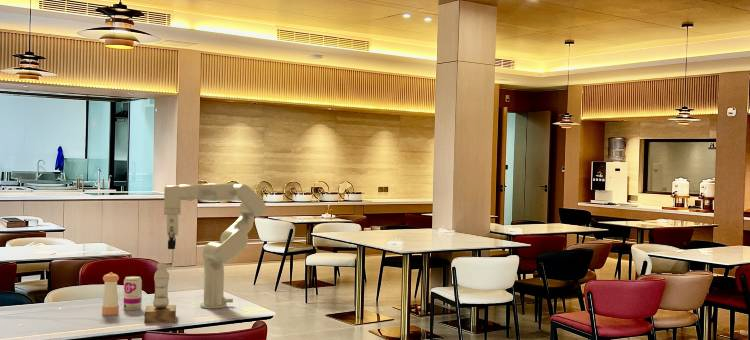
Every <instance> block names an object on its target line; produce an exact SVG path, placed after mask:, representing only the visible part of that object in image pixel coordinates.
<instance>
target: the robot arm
mask: <svg viewBox="0 0 750 340" xmlns="http://www.w3.org/2000/svg"><path fill="white" fill-rule="evenodd" d="M163 192H164V194H163V195H164V196H163V197H164V198H163V199H164V200H163V215H164V216H166V234H167V236H168V240H167V249H168V250H175V249H176V246H177V245H176V237H178V235H179V216H180V215H181V212H182V211H181V209H182V208H181V206H182V204H181V203H182V202H181V201H187V202H188V201H190V202H191V201H194V200H200V201H201V200H203V201H210V202H213V201H214V202H220V201H221V202H224V201H225V202H226V201H234V202H235V201H237V202H240V205H239V215H238V218H237V219H236V220H235V221H234V222H233V223H232V224H231V225H229V227H227V228H226V229H225V230H224V231H223V232H222V233H221V235H220V242H218V241H217V242H216V241H210V242H208V243H207V244H205V245H204V247H203V249H202V260H203V266H204V267H203V269H204V271H203V272H204V273H203V302H202V303H200V307H201V308H202V309H208V310H209V309H211V310H213V309H223V308H226V307H227V305H228V304H229V303H231V304H232V303H233V302H234V299H233V298H230V297H229V298H226V297H225V296H224V293H225V291H224V288H225V287H224V286H225V281H224V280H225V267H224V265H225V264H228V263H229V262H230V261H232V260H233V259H234V258H235V257H236V256H237V255H239V253H240V252H242V251H243V250H244V249H245V248H246V246H247V245H248V242H249V236H248V234H249V232H250V231H251V230H252V229H253V226H254V221H255V217H256V218H257V217H261V216H264V214H265V213H266V210H267V206H266V203H265V201H264V200H263V199H262V198H261V197H260V196H259V195H258V194H257V193H256V192H255V190H253V189H252V188H251V187H250V186H249V185H247V184H244V183H201V184H200V183H197V184H196V183H193V184H192V183H191V184H188V183H187V184H186V183H185V184H182V183H181V184H178V185H172V184H171V185H170V184H169V185H166V186H165V187H164V191H163ZM227 303H228V304H227Z"/></svg>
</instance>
